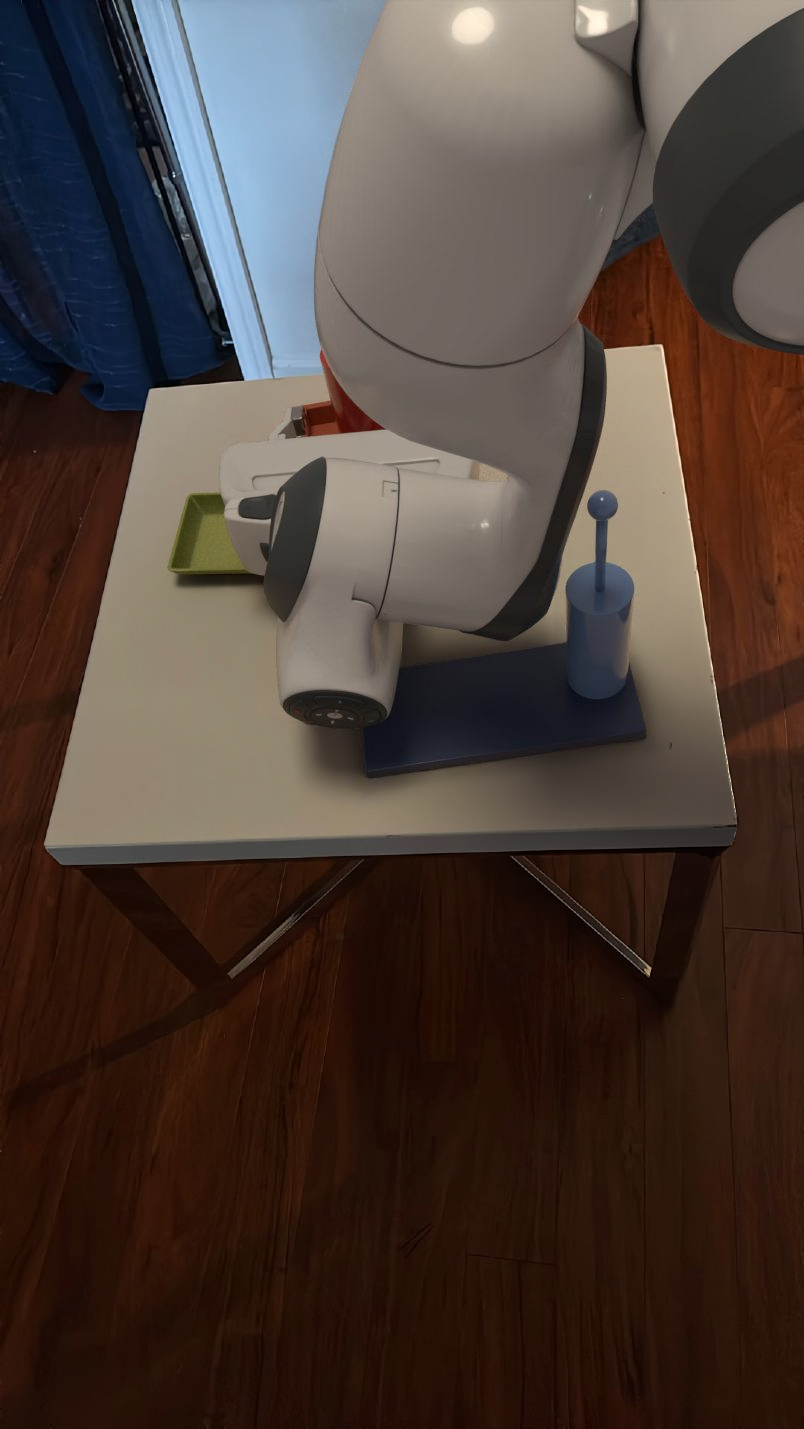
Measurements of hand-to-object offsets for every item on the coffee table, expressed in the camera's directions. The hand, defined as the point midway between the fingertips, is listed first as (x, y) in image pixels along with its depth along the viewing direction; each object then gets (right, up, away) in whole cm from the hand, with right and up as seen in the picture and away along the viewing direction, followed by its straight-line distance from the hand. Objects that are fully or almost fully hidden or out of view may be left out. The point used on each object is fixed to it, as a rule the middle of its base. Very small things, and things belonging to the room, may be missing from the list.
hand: (353, 407), depth 85 cm
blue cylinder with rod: (+18, -22, -9) cm, 30 cm away
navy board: (+11, -25, -8) cm, 28 cm away
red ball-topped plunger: (+1, -1, +8) cm, 8 cm away
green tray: (-11, -11, +4) cm, 16 cm away
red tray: (+1, -1, +8) cm, 8 cm away
